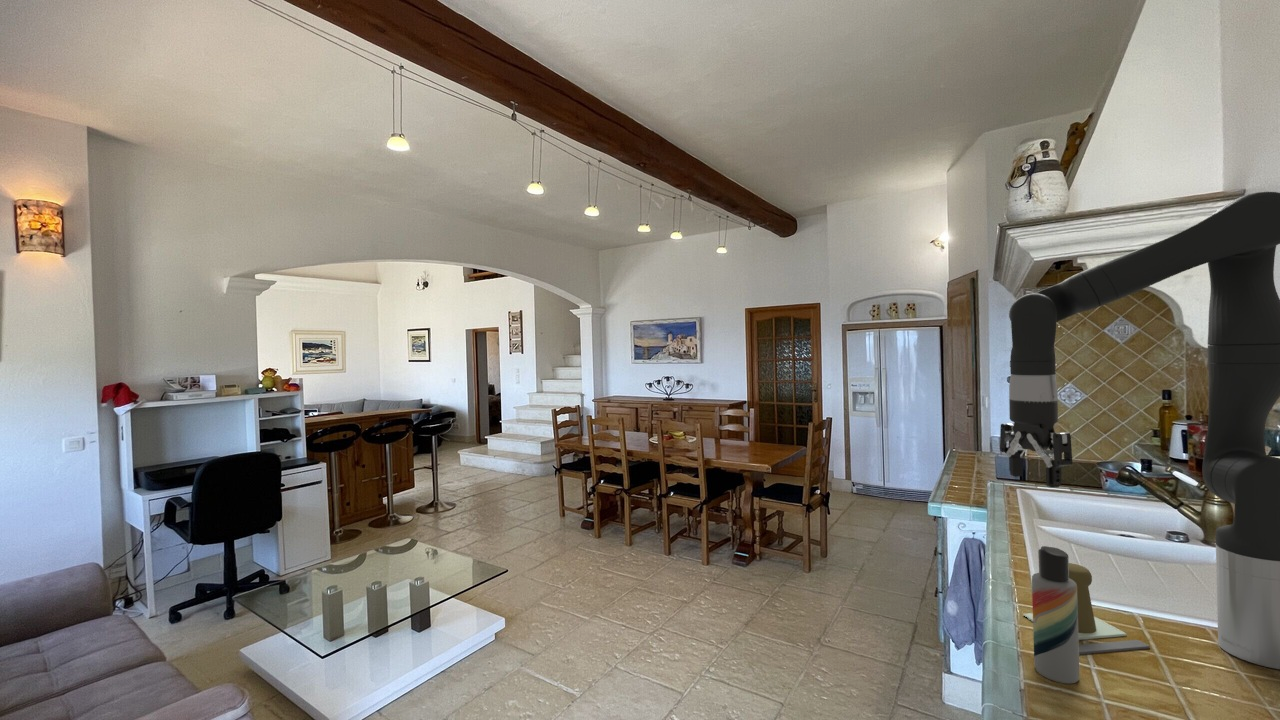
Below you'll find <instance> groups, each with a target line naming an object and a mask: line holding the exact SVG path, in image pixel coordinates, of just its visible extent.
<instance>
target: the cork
mask: <svg viewBox="0 0 1280 720" xmlns="http://www.w3.org/2000/svg"><path fill="white" fill-rule="evenodd" d="M1069 578H1070V579H1072V580H1073V581H1074V582H1075V583H1076V584H1077V599H1078V633H1094V632H1096V625H1095V620H1094V611H1093V609H1094V608H1093V606H1092V605H1093V604H1092V599H1091V594H1090V589H1089V586H1091V584H1092V582H1093V576H1092V572H1091V571H1090V570H1089V569H1088V568H1087V567H1085V566H1083V565H1081V564H1078V563H1077V564H1076V563H1071V562H1069Z"/></svg>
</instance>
